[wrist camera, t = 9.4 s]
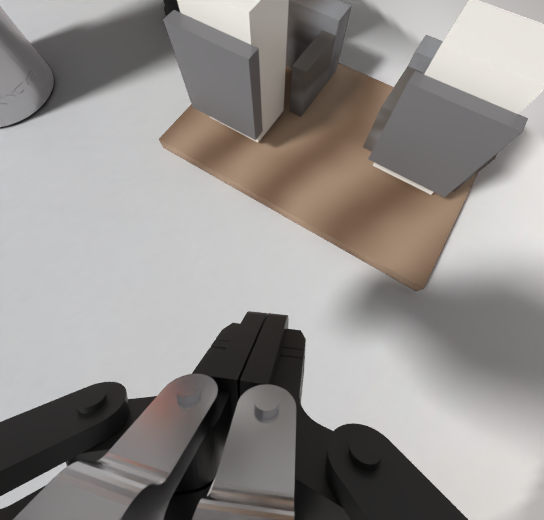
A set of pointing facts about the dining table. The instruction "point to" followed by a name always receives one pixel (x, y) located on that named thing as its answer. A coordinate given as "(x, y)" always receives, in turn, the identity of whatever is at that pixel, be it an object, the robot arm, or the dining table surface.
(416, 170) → the button
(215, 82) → the button
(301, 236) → the dining table surface
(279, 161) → the button board
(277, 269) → the dining table surface
